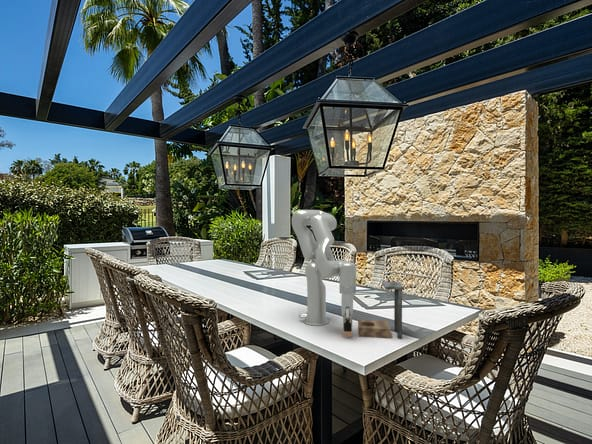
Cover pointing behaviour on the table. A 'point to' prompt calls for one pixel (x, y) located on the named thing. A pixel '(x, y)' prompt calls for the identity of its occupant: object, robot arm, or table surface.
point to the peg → (346, 333)
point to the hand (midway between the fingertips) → (347, 328)
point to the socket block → (382, 327)
